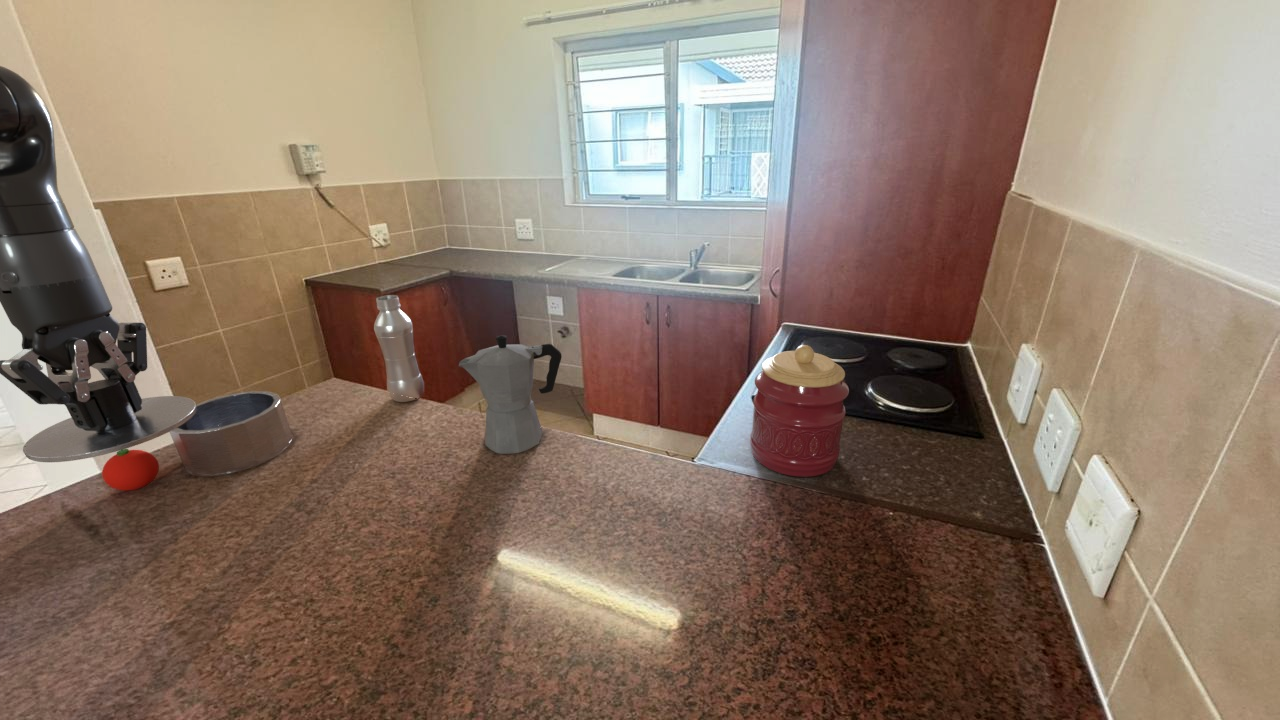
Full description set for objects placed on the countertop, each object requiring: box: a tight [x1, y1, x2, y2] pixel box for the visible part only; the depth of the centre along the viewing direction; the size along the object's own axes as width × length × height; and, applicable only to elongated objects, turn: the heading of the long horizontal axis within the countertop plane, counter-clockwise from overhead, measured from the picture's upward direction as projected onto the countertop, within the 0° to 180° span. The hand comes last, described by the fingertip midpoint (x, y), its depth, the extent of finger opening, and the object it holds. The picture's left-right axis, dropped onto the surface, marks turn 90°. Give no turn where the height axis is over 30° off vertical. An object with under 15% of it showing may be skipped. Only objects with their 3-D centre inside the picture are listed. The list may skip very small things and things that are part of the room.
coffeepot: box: [458, 334, 563, 455], centre depth 78 cm, size 15×9×18 cm, turn 112°
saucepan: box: [169, 390, 294, 478], centre depth 78 cm, size 14×14×8 cm
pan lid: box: [22, 378, 197, 463], centre depth 58 cm, size 15×15×6 cm
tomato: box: [101, 448, 160, 492], centre depth 70 cm, size 6×6×6 cm
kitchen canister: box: [749, 344, 850, 478], centre depth 73 cm, size 13×13×18 cm
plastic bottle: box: [373, 294, 425, 403], centre depth 92 cm, size 6×7×20 cm
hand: (113, 419), depth 59 cm, fingers closed on pan lid, 3 cm apart
